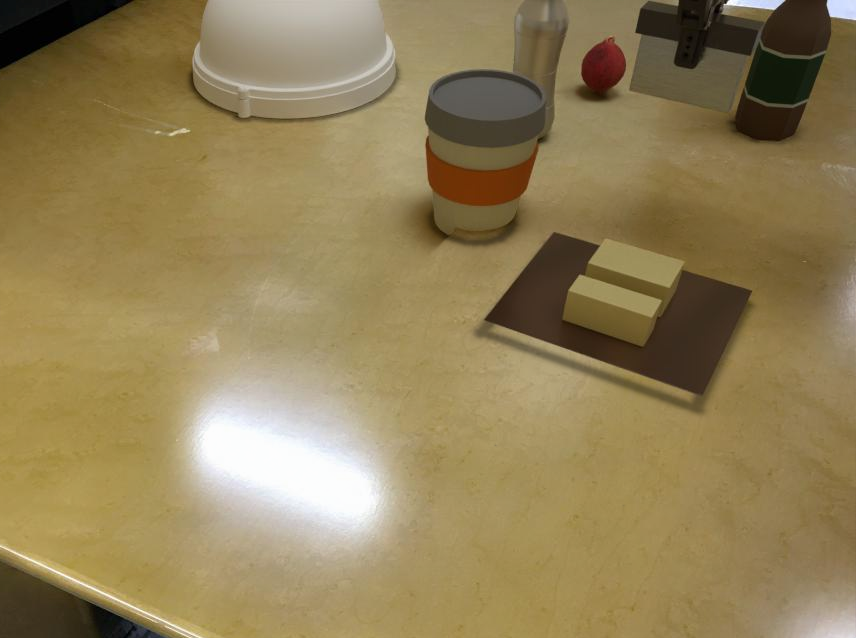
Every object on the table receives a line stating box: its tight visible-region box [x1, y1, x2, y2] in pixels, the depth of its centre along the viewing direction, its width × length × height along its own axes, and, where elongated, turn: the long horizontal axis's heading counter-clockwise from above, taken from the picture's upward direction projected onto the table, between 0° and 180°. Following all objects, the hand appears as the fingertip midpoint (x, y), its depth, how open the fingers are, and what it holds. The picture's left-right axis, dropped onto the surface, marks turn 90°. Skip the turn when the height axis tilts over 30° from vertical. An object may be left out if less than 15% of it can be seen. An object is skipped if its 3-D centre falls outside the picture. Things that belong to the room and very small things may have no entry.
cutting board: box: [483, 231, 753, 397], centre depth 89 cm, size 21×18×2 cm
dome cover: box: [191, 0, 397, 120], centre depth 128 cm, size 32×30×14 cm
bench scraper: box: [628, 0, 766, 114], centre depth 88 cm, size 11×2×8 cm, turn 56°
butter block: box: [585, 238, 686, 317], centre depth 89 cm, size 8×5×4 cm, turn 57°
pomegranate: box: [580, 34, 627, 95], centre depth 122 cm, size 6×6×8 cm
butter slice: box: [562, 275, 662, 347], centre depth 85 cm, size 8×3×4 cm, turn 57°
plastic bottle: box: [512, 0, 570, 140], centre depth 110 cm, size 6×7×20 cm
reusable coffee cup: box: [424, 68, 546, 236], centre depth 98 cm, size 13×13×15 cm
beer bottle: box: [734, 0, 832, 141], centre depth 109 cm, size 8×8×24 cm
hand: (690, 59), depth 88 cm, fingers closed on bench scraper, 2 cm apart
